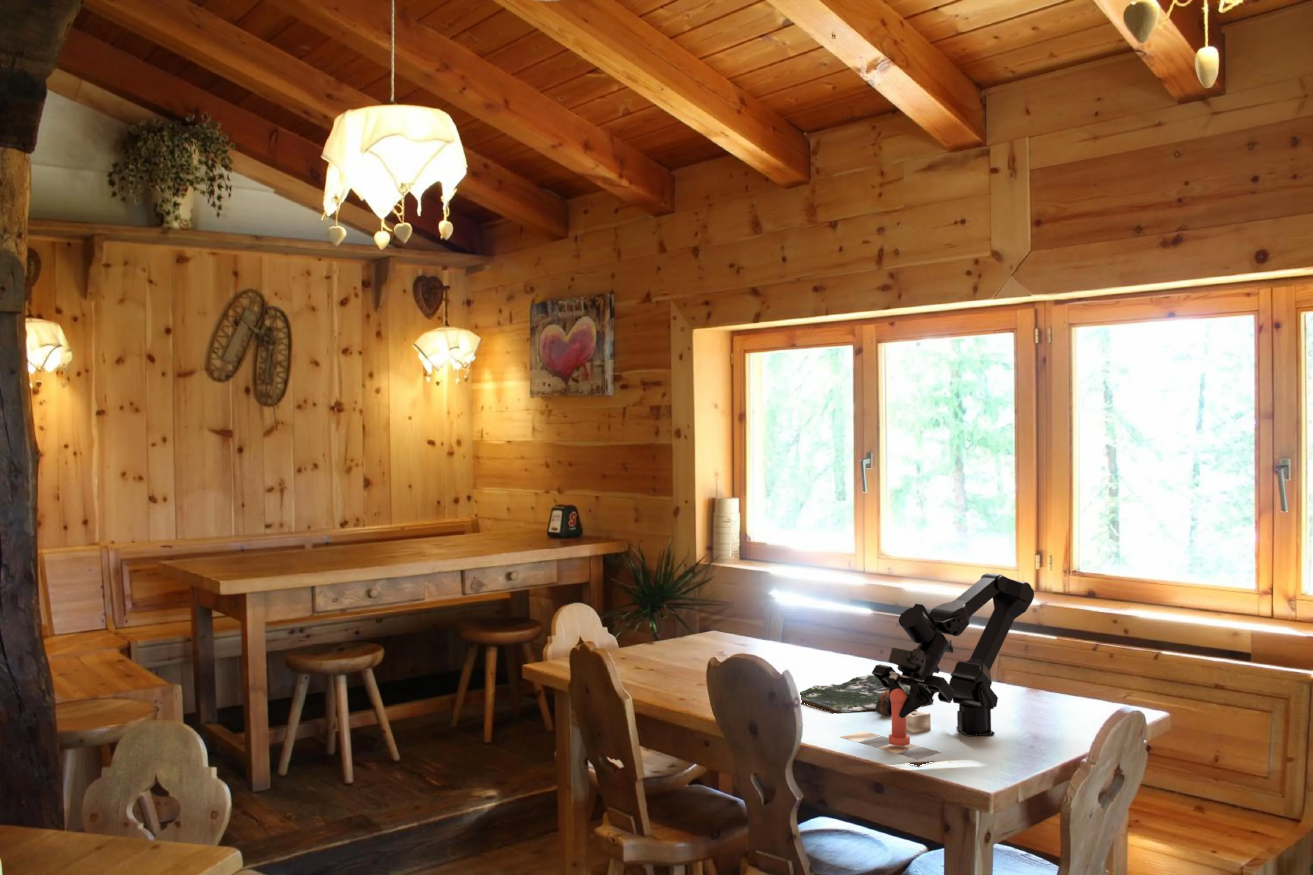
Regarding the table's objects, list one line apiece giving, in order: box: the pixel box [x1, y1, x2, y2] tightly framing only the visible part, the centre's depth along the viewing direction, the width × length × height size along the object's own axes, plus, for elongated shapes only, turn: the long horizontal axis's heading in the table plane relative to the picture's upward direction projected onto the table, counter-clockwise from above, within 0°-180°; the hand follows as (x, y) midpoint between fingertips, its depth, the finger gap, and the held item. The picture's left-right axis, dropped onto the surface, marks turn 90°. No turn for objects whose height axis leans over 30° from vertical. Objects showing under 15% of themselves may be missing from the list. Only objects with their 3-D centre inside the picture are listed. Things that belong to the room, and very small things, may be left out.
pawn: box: [888, 689, 911, 746], centre depth 222 cm, size 4×4×12 cm
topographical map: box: [799, 674, 934, 715], centre depth 269 cm, size 26×33×3 cm
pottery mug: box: [874, 690, 909, 717], centre depth 250 cm, size 12×10×8 cm
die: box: [906, 709, 932, 734], centre depth 236 cm, size 5×5×5 cm
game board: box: [840, 730, 942, 767], centre depth 224 cm, size 23×9×1 cm, turn 37°
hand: (894, 715), depth 221 cm, fingers closed on pawn, 3 cm apart
